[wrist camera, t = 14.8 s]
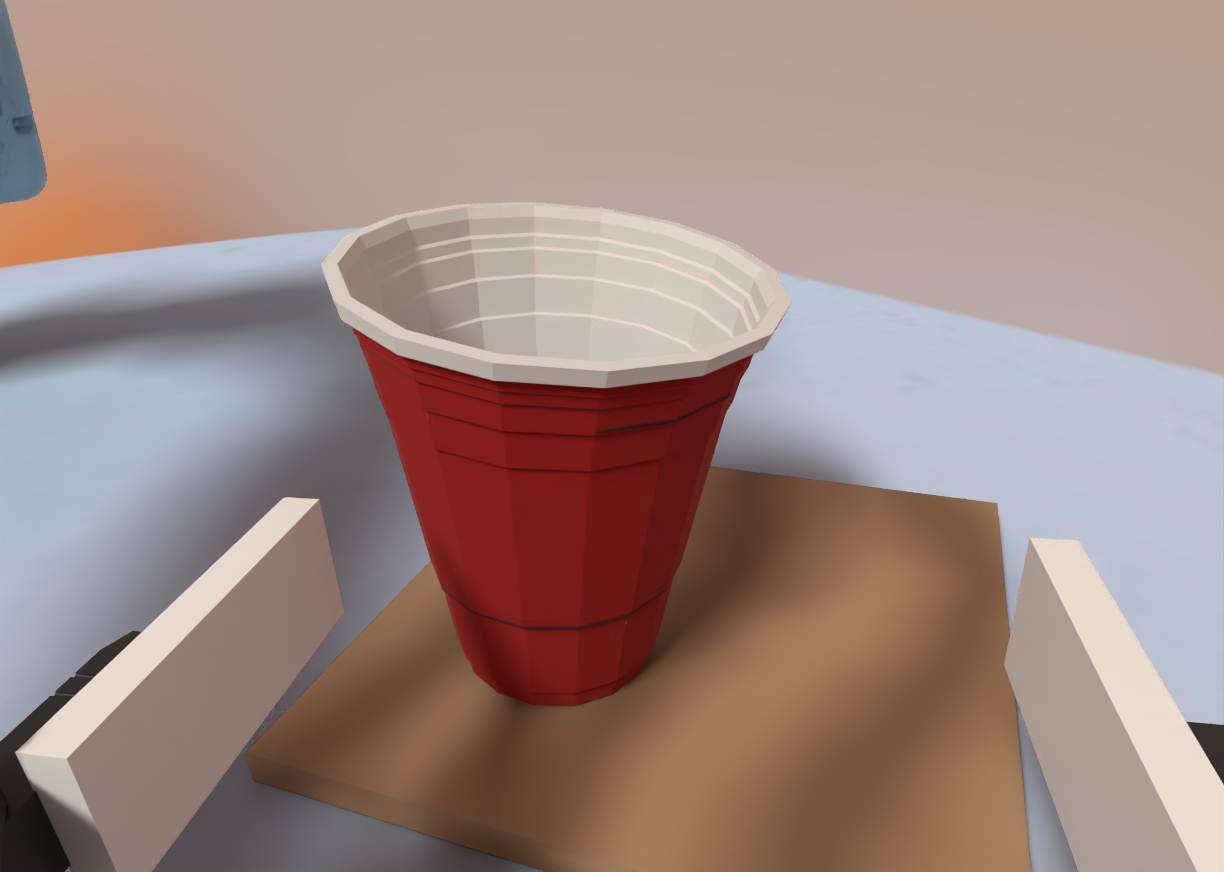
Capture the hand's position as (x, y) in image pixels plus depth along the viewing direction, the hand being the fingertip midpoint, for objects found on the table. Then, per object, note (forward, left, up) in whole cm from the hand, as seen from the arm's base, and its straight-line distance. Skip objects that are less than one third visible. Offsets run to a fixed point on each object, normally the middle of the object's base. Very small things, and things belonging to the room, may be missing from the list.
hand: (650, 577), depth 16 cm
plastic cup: (-5, +6, -7) cm, 11 cm away
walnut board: (-2, +9, -8) cm, 12 cm away
